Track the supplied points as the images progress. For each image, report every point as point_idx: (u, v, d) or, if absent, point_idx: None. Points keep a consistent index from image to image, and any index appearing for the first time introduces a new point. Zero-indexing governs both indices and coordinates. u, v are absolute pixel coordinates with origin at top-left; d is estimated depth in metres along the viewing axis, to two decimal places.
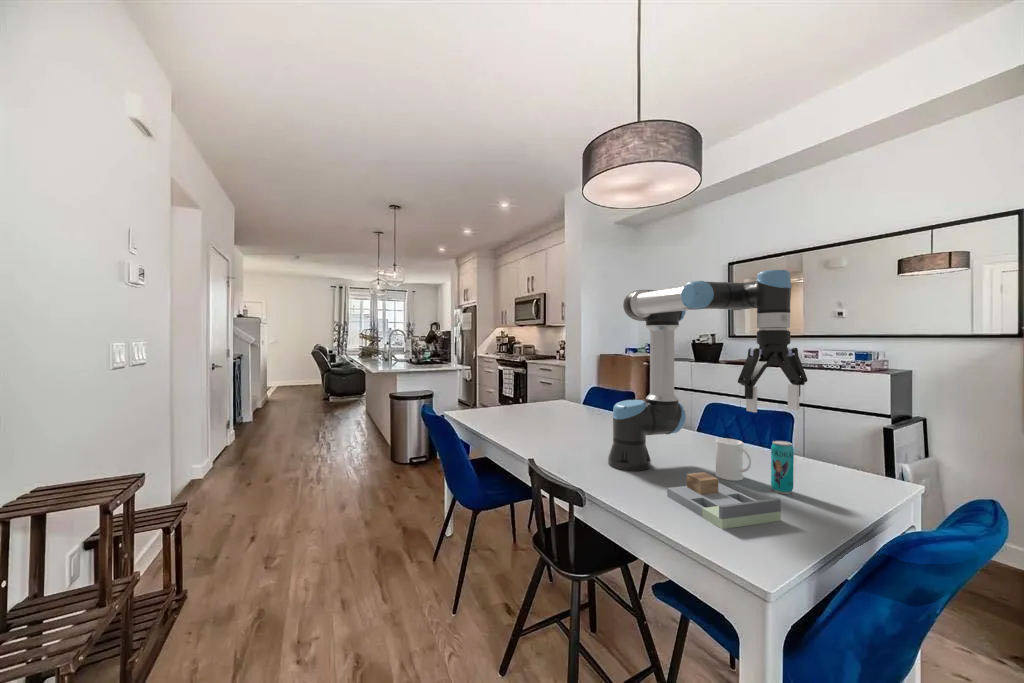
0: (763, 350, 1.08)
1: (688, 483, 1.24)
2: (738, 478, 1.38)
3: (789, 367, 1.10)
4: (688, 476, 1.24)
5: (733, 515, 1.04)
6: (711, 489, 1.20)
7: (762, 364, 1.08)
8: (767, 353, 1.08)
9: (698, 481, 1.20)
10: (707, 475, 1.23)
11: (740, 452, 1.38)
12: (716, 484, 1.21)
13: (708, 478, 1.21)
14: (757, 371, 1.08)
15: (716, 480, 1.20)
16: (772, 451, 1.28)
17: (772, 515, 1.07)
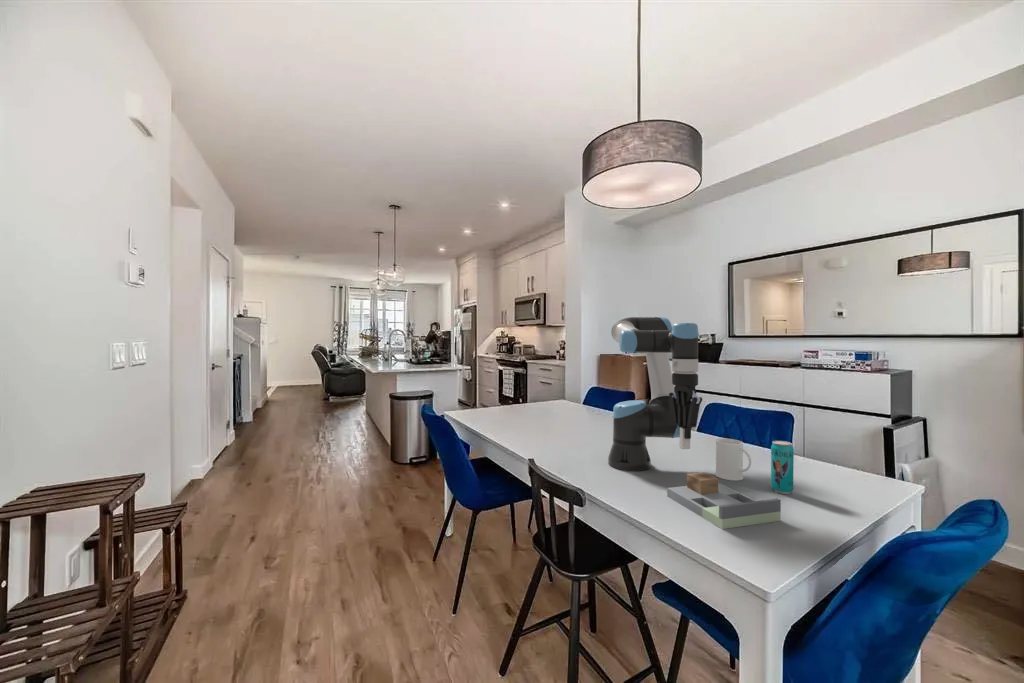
0: None
1: (688, 483, 1.24)
2: (738, 478, 1.38)
3: (684, 408, 1.29)
4: (688, 476, 1.24)
5: (733, 515, 1.04)
6: (711, 489, 1.20)
7: None
8: (676, 391, 1.32)
9: (698, 481, 1.20)
10: (707, 475, 1.23)
11: (740, 452, 1.38)
12: (716, 484, 1.21)
13: (708, 478, 1.21)
14: None
15: (716, 480, 1.20)
16: (772, 451, 1.28)
17: (772, 515, 1.07)
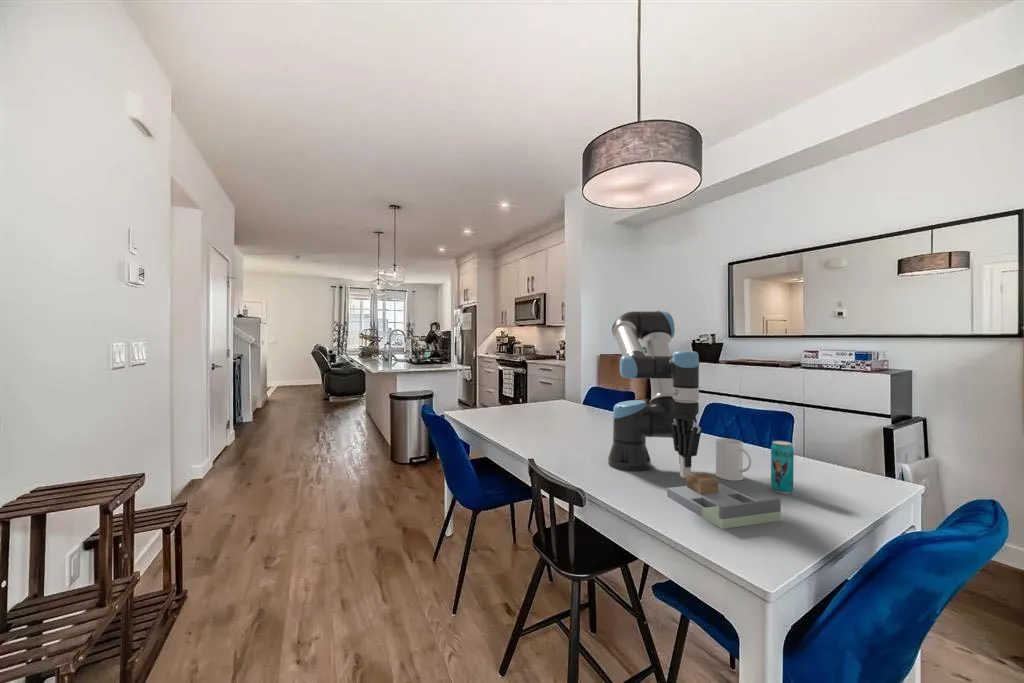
0: None
1: (688, 483, 1.24)
2: (738, 478, 1.38)
3: (684, 437, 1.29)
4: (688, 476, 1.24)
5: (733, 515, 1.04)
6: (711, 489, 1.20)
7: None
8: (676, 418, 1.32)
9: (698, 481, 1.20)
10: (707, 475, 1.23)
11: (740, 452, 1.38)
12: (716, 484, 1.21)
13: (708, 478, 1.21)
14: None
15: (716, 480, 1.20)
16: (772, 451, 1.28)
17: (772, 515, 1.07)
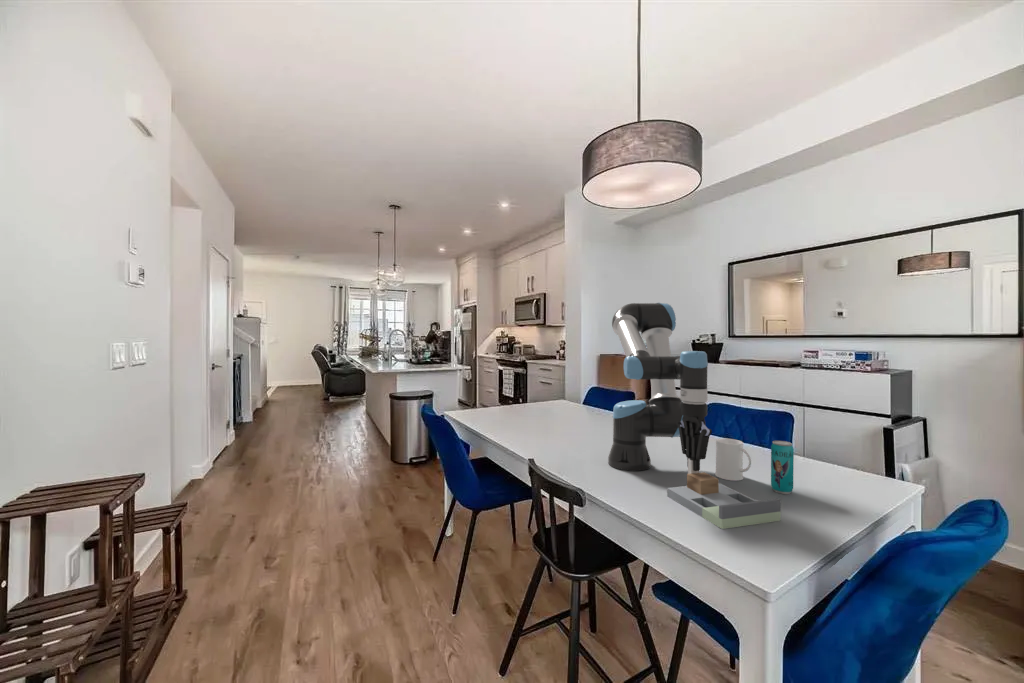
0: None
1: (688, 483, 1.24)
2: (738, 478, 1.38)
3: (692, 439, 1.25)
4: (688, 476, 1.24)
5: (733, 515, 1.04)
6: (711, 490, 1.20)
7: None
8: (684, 420, 1.29)
9: (698, 481, 1.20)
10: (707, 475, 1.23)
11: (740, 452, 1.38)
12: (716, 484, 1.20)
13: (708, 478, 1.21)
14: None
15: (716, 480, 1.20)
16: (772, 451, 1.28)
17: (772, 515, 1.07)
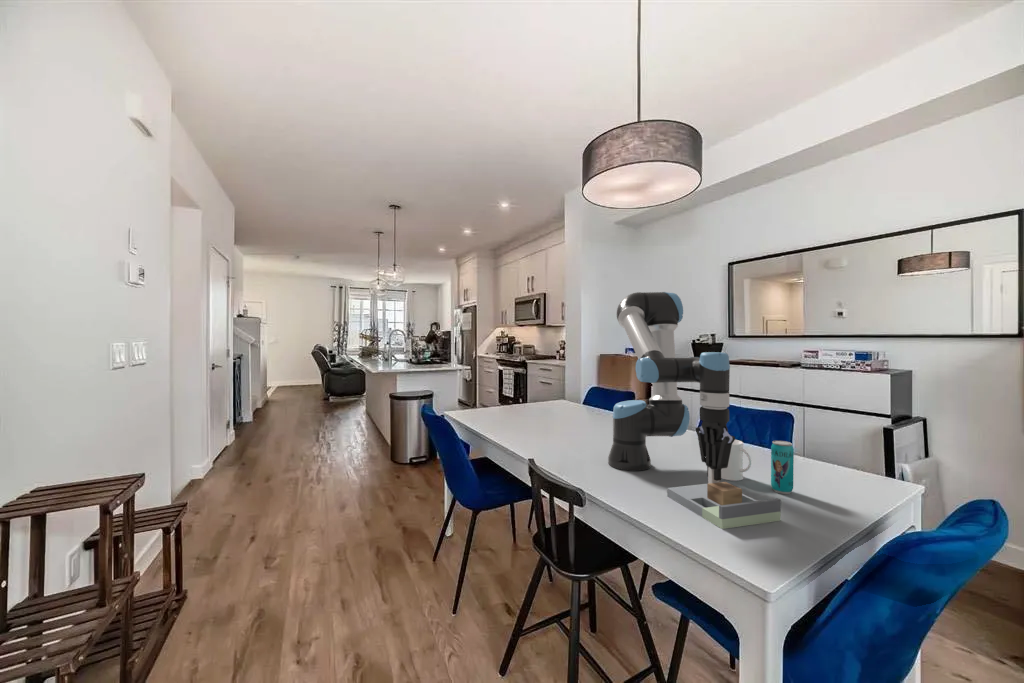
0: None
1: (709, 494, 1.16)
2: (738, 478, 1.38)
3: (713, 447, 1.17)
4: (709, 486, 1.16)
5: (733, 515, 1.04)
6: (734, 501, 1.12)
7: None
8: (704, 426, 1.20)
9: (720, 492, 1.12)
10: (729, 485, 1.15)
11: (740, 452, 1.38)
12: (740, 495, 1.12)
13: (731, 488, 1.13)
14: None
15: (740, 491, 1.12)
16: (772, 451, 1.28)
17: (772, 515, 1.07)
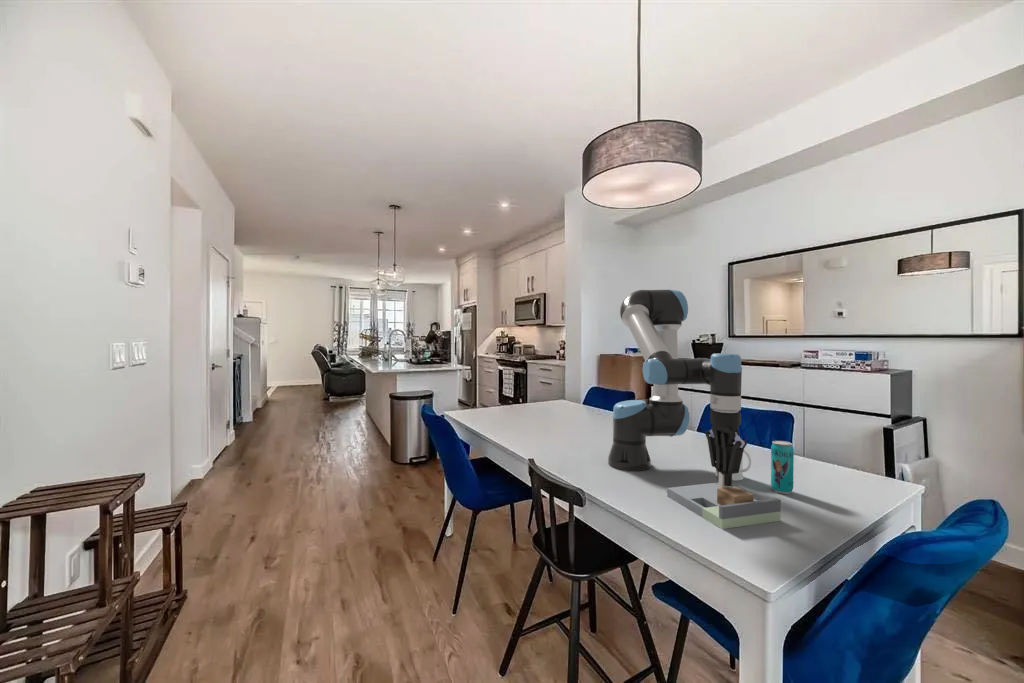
0: None
1: (719, 499, 1.12)
2: (738, 478, 1.38)
3: (724, 451, 1.13)
4: (719, 491, 1.12)
5: (733, 515, 1.04)
6: None
7: None
8: (714, 430, 1.16)
9: (731, 497, 1.08)
10: (740, 490, 1.11)
11: None
12: (751, 500, 1.09)
13: (742, 494, 1.09)
14: None
15: (751, 496, 1.08)
16: (772, 451, 1.28)
17: (772, 515, 1.07)
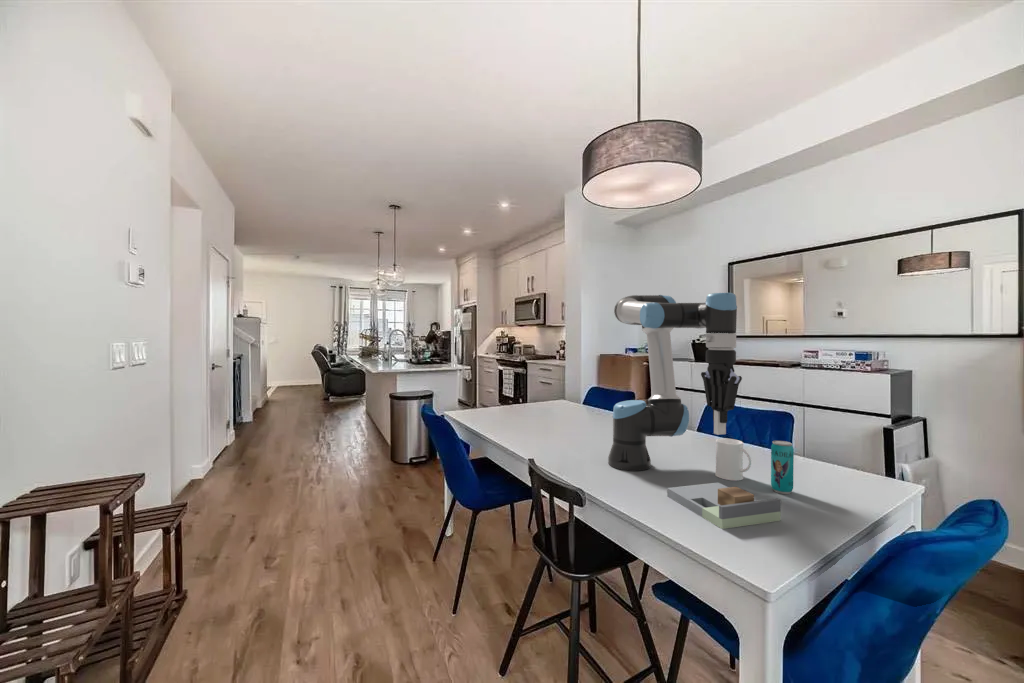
0: None
1: (719, 499, 1.12)
2: (738, 478, 1.38)
3: (719, 389, 1.15)
4: (719, 491, 1.12)
5: (733, 515, 1.04)
6: None
7: None
8: (710, 370, 1.18)
9: (732, 497, 1.08)
10: (741, 490, 1.11)
11: (740, 452, 1.38)
12: None
13: (742, 494, 1.09)
14: None
15: (752, 496, 1.08)
16: (772, 451, 1.28)
17: (772, 515, 1.07)
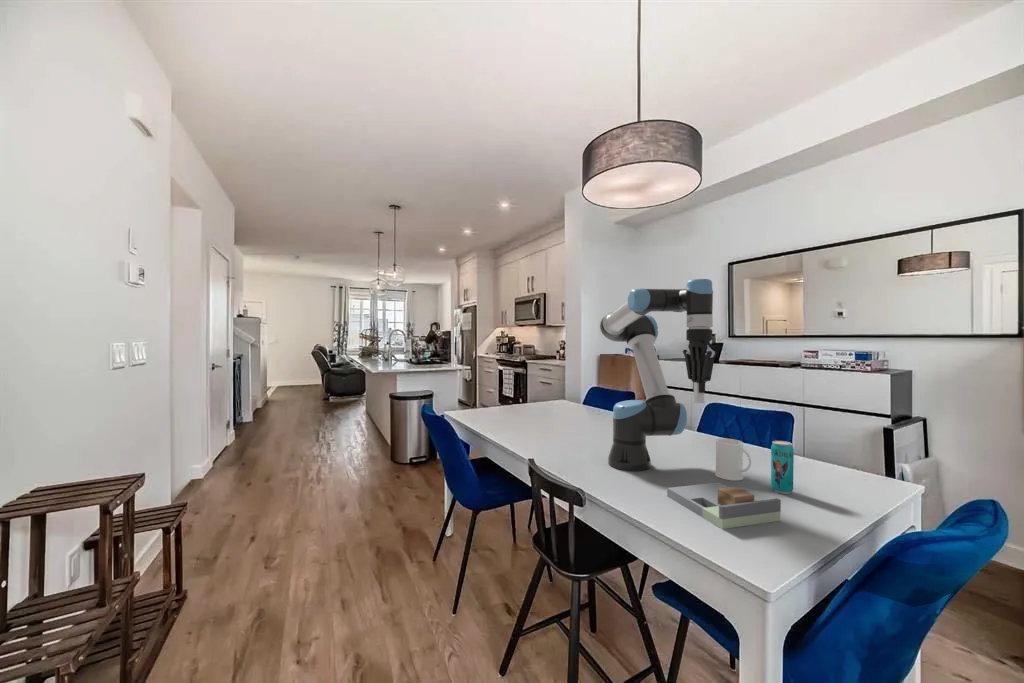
0: None
1: (719, 499, 1.12)
2: (738, 478, 1.38)
3: (698, 363, 1.31)
4: (719, 491, 1.12)
5: (733, 515, 1.04)
6: None
7: None
8: (690, 347, 1.35)
9: (732, 497, 1.08)
10: (741, 490, 1.11)
11: (740, 452, 1.38)
12: None
13: (742, 494, 1.09)
14: None
15: (752, 496, 1.08)
16: (772, 451, 1.28)
17: (772, 515, 1.07)
